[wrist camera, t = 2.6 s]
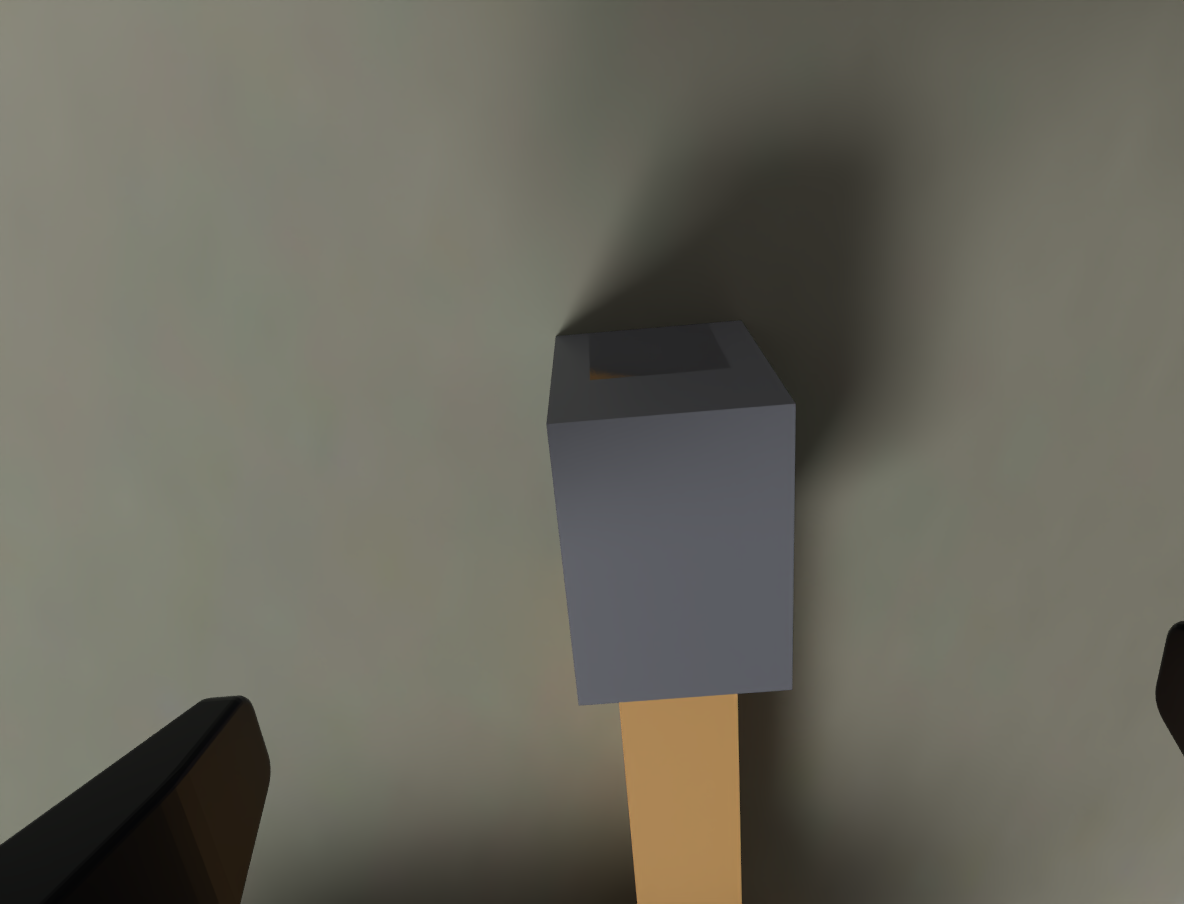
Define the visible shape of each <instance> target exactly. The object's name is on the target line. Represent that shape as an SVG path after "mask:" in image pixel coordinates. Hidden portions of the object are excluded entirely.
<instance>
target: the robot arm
mask: <svg viewBox="0 0 1184 904" xmlns="http://www.w3.org/2000/svg"><path fill="white" fill-rule="evenodd" d="M1155 693H1156V703H1157V707H1158V710H1159V713H1160V715H1161V717H1162V719H1163V721H1164V722H1165V724H1166V726H1167V728H1168V729H1169V731H1170V733H1171V735H1172V736H1173V738H1174V740H1175V742H1176V743H1177V745H1178V747H1179V749H1180V750H1181V752H1182V754H1183V756H1184V621H1180V622H1178V623H1176V624H1174V625H1173V626H1172V627H1171V629H1170V630H1169V632H1168V635H1167V638H1166V643H1165V647H1164V652H1163V657H1162V661H1161V666H1160V670H1159V675H1158V680H1157V684H1156V691H1155ZM269 782H270V760H269V755H268V752H267V749H266V746H265V743H264V739H263V736H262V733H261V730H260V727H259V723H258V720H257V717H256V714H255V711H254V708H253V706H252V703H251V702H250V701H249V699H247V698H246V697H243V696H227V697H214V698H207V699H204V700H202V701H200V702H198V703H197V704H195V705H194V706H193V707H191V708H190V709H189V710H187V711H186V712H184V713H183V714H182V715H180V716H179V717H177V718H176V719H175V720H173V721H172V722H171V723H169V724H168V725H166V726H165V727H164V728H162V729H161V730H159V731H158V732H157V733H155V734H154V735H152V736H151V737H150V738H148V739H147V740H146V741H144V742H143V743H141V744H140V745H139V746H137V747H136V748H134V749H133V750H132V751H130V752H129V753H127V754H126V755H125V756H123V757H122V758H121V759H119V760H118V761H116V762H115V763H114V764H112V765H111V766H109V767H108V768H107V769H105V770H104V771H102V772H101V773H100V774H98V775H97V776H95V777H94V778H93V779H91V780H90V781H89V782H87V783H86V784H84V785H83V786H82V787H80V788H79V789H77V790H76V791H75V792H73V793H72V794H70V795H69V796H68V797H66V798H65V799H64V800H62V801H61V802H59V803H58V804H57V805H55V806H54V807H52V808H51V809H50V810H48V811H47V812H45V813H44V814H43V815H41V816H40V817H39V818H37V819H36V820H34V821H33V822H32V823H30V824H29V825H27V826H26V827H25V828H23V829H22V830H20V831H19V832H18V833H16V834H15V835H14V836H12V837H11V838H9V839H8V840H7V841H5V842H4V843H2V844H1V845H0V904H240V902H241V898H242V894H243V890H244V886H245V882H246V878H247V874H248V869H249V865H250V861H251V857H252V853H253V849H254V845H255V841H256V837H257V832H258V828H259V824H260V820H261V816H262V812H263V808H264V804H265V800H266V795H267V791H268V787H269Z"/></svg>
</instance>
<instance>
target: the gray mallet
mask: <svg viewBox="0 0 1184 904" xmlns="http://www.w3.org/2000/svg"><path fill="white" fill-rule="evenodd" d="M795 419H796V403H795V402H794V400H793V399H792V397H791V396H790V394H789V393H788V391H787V390H786V388H785V387H784V385H783V383H782V382H781V380H780V379H779V377H778V376H777V374H776V373H775V371H774V370H773V368H772V367H771V365H770V364H769V362H768V360H767V359H766V357H765V356H764V354H763V353H762V351H761V350H760V348H759V347H758V345H757V344H756V342H755V341H754V339H753V338H752V336H751V334H750V333H749V331H748V330H747V328H746V327H745V325H744V324H743V322H742V321H741V320H739V321H727V322H715V323H704V324H692V325H680V326H668V327H657V328H645V329H633V330H622V331H610V332H598V333H586V334H575V335H563V336H556V340H555V349H554V358H553V368H552V377H551V387H550V396H549V405H548V415H547V433H548V442H549V450H550V459H551V468H552V476H553V485H554V494H555V503H556V511H557V520H558V529H559V537H560V546H561V555H562V564H563V572H564V581H565V590H566V598H567V607H568V616H569V624H570V633H571V642H572V651H573V659H574V668H575V677H576V685H577V694H578V703H579V705H593V704H606V703H619V707H620V718H621V729H622V740H623V751H624V762H625V773H626V784H627V795H628V806H629V818H630V829H631V840H632V851H633V862H634V873H635V884H636V895H637V904H742V890H741V840H740V790H739V741H738V694H741V693H755V692H768V691H782V690H792V664H793V583H794V501H795Z"/></svg>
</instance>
